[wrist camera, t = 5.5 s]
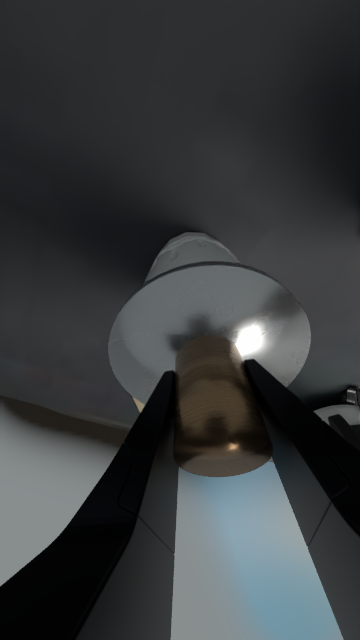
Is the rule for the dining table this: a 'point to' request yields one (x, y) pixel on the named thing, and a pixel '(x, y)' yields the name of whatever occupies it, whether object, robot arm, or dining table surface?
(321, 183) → the dining table surface
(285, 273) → the dining table surface
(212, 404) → the lid
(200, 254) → the white cup
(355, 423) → the coffee press
